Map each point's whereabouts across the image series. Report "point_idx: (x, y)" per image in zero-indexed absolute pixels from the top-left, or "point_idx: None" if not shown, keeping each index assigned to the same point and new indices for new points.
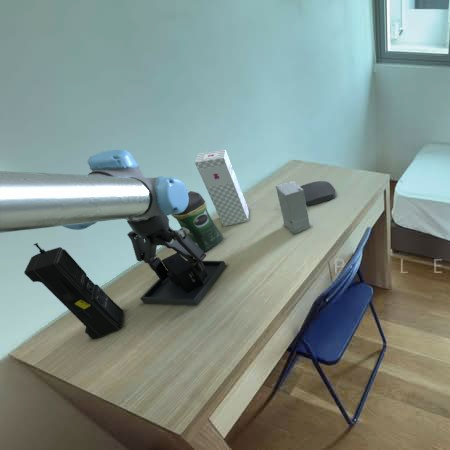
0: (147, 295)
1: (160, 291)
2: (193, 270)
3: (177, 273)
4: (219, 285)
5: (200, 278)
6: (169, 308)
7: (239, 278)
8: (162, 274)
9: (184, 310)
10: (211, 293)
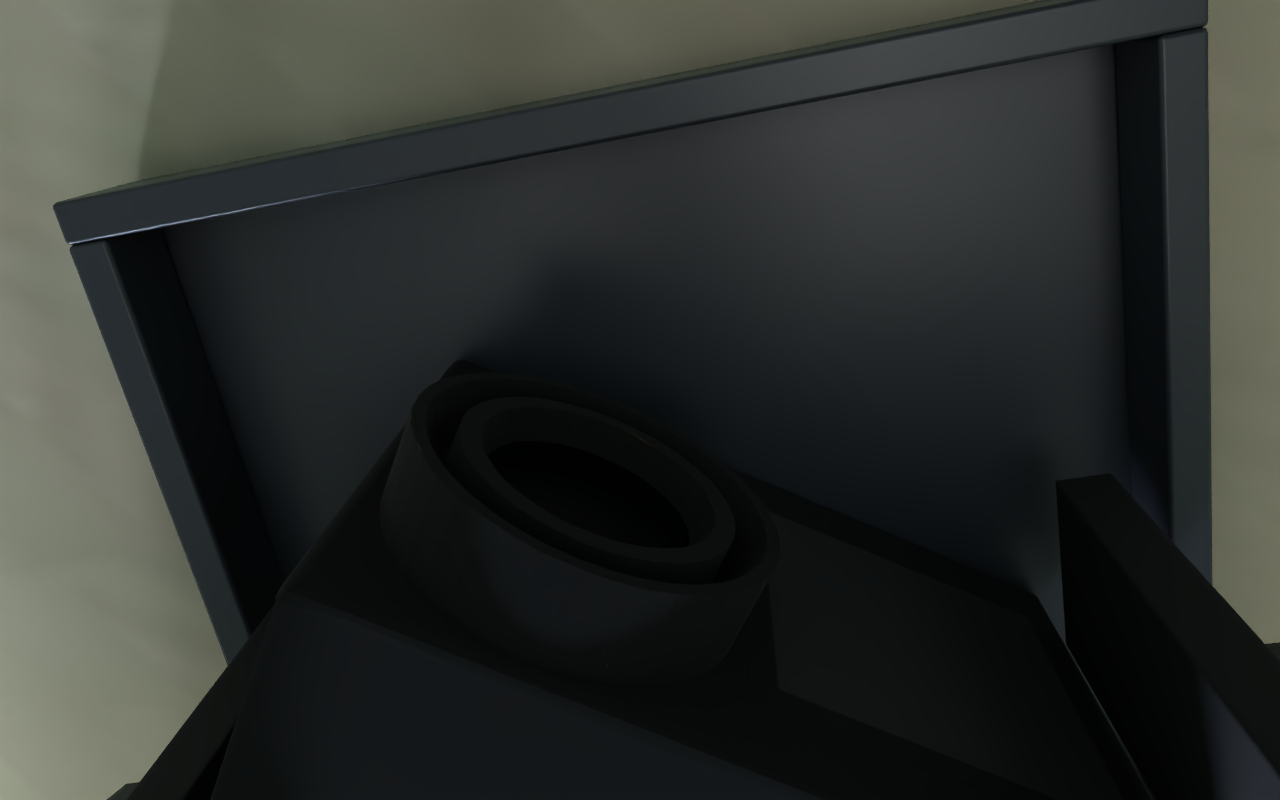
0: (1139, 113)
1: (1009, 289)
2: (179, 783)
3: (327, 637)
4: (162, 597)
5: (247, 641)
6: (538, 3)
7: (3, 754)
8: (1101, 598)
9: (234, 31)
10: (134, 440)
